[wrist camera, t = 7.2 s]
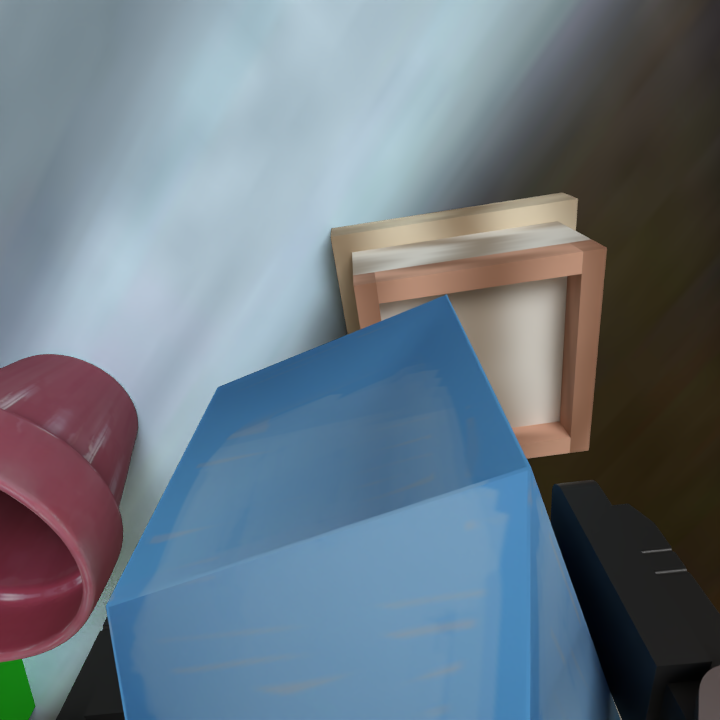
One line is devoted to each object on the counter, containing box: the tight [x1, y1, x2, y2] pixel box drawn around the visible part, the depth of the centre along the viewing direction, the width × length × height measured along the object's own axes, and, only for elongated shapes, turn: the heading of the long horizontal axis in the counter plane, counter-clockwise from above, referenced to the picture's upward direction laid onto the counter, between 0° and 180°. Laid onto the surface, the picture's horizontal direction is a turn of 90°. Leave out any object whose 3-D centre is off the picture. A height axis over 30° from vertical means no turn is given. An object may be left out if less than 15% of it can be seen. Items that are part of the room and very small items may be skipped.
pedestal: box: [331, 193, 607, 458], centre depth 27 cm, size 13×13×8 cm
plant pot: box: [0, 354, 138, 662], centre depth 27 cm, size 14×14×13 cm
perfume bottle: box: [106, 295, 620, 720], centre depth 8 cm, size 6×6×12 cm
